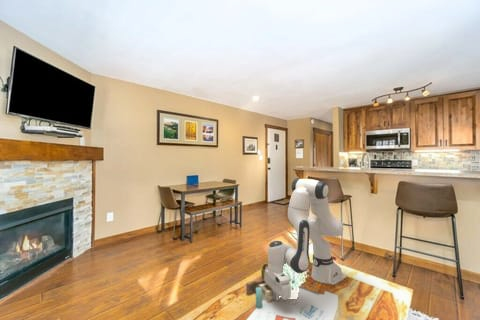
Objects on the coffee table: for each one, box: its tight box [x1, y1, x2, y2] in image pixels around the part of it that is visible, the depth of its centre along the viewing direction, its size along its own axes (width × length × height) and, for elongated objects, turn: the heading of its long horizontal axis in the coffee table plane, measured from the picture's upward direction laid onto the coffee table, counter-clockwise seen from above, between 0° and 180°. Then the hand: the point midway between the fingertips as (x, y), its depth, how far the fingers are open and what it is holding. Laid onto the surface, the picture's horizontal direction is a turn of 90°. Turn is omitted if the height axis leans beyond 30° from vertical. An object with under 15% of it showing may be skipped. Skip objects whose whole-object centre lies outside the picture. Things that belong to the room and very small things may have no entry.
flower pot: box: [260, 263, 269, 279], centre depth 141 cm, size 9×9×9 cm
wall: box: [245, 278, 265, 296], centre depth 131 cm, size 22×2×6 cm, turn 114°
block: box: [259, 283, 275, 303], centre depth 125 cm, size 9×9×5 cm
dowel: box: [255, 287, 263, 309], centre depth 116 cm, size 3×3×9 cm
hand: (276, 298), depth 119 cm, fingers closed
